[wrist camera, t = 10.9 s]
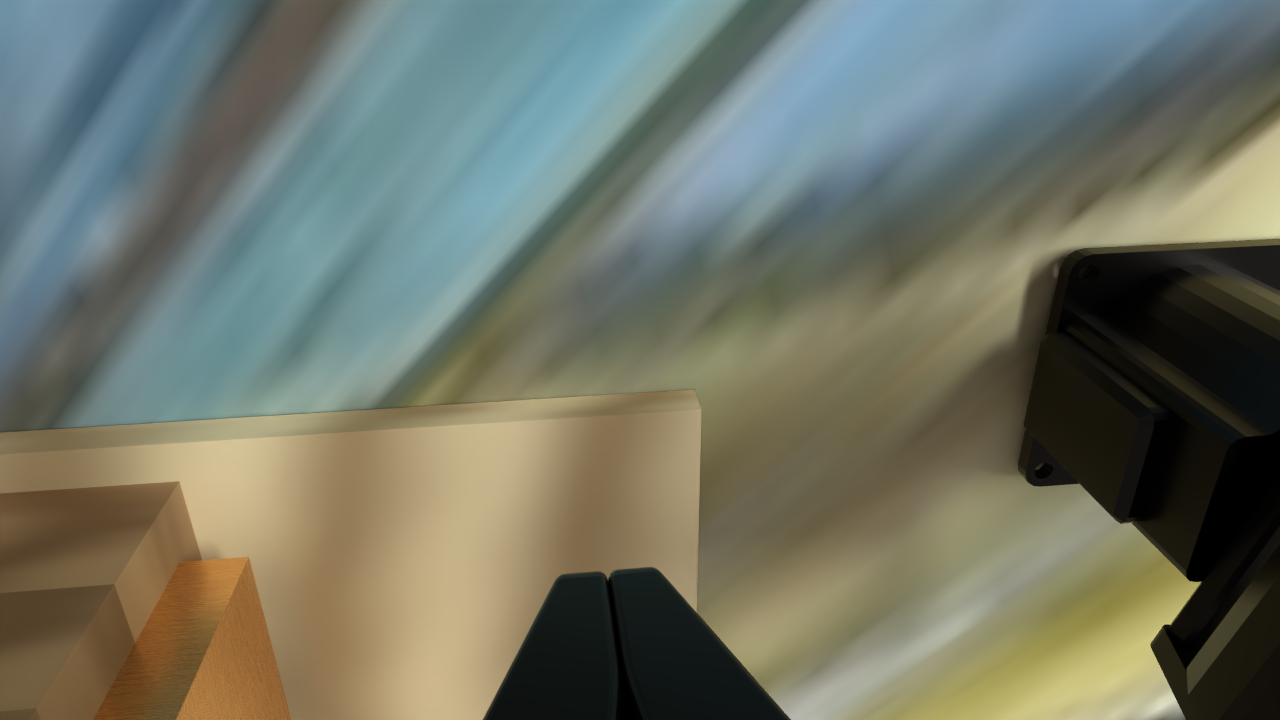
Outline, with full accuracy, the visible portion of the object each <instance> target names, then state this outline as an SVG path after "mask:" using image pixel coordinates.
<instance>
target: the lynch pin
mask: <svg viewBox="0 0 1280 720" xmlns="http://www.w3.org/2000/svg"><path fill="white" fill-rule="evenodd" d="M93 720H291V717H290V713H289V709H288V705H287V701H286V697H285V694H284V690H283V686H282V682H281V678H280V674H279V671H278V667H277V663H276V659H275V655H274V651H273V648H272V644H271V640H270V636H269V632H268V628H267V625H266V621H265V617H264V613H263V609H262V605H261V602H260V598H259V594H258V590H257V586H256V582H255V579H254V575H253V571H252V567H251V563H250V559H249V557H239V558H226V559H213V560H200V561H187V562H179V564H178V566H177V568H176V570H175V572H174V573H173V575H172V577H171V579H170V581H169V582H168V584H167V586H166V588H165V590H164V591H163V593H162V595H161V597H160V599H159V601H158V602H157V604H156V606H155V608H154V610H153V611H152V613H151V615H150V617H149V619H148V621H147V622H146V624H145V626H144V628H143V630H142V631H141V633H140V635H139V637H138V639H137V640H136V642H135V644H134V646H133V648H132V650H131V651H130V653H129V655H128V657H127V659H126V660H125V662H124V664H123V666H122V668H121V670H120V671H119V673H118V675H117V677H116V679H115V680H114V682H113V684H112V686H111V688H110V689H109V691H108V693H107V695H106V697H105V699H104V700H103V702H102V704H101V706H100V708H99V709H98V711H97V713H96V715H95V717H94V719H93Z"/></svg>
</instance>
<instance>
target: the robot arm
mask: <svg viewBox="0 0 1280 720" xmlns="http://www.w3.org/2000/svg"><path fill="white" fill-rule="evenodd" d="M1089 264H1090V269H1089V271H1088V273H1087V274H1086V275H1085V276H1083V277H1081V278H1079V273H1080V271H1081V269H1083V268H1084V267H1085V266H1086V265H1089ZM1024 427H1025V428H1026V430H1025V435H1024V439H1023V444H1022V449H1021V453H1020V458H1019V463H1018V470H1019V472H1020V473H1021V475H1022V476H1023V477H1024V478H1025V479H1026V480H1027V482H1028V483H1030V484H1031V485H1033V486H1053V485H1066V484H1081V486H1082V487H1083V488H1084V489H1085V490H1086V491H1087V492H1088V493H1089V494H1090V495H1091V496H1092V497H1093V498H1094V499H1095V500H1096V501H1097V502H1098V503H1099V504H1100V505H1101V506H1102V507H1103V508H1104V509H1105V510H1106V511H1107V512H1108V513H1109V514H1110V515H1111V516H1112V517H1113V518H1114V519H1115V520H1116V521H1117V522H1119V523H1121V524H1122V523H1132V524H1133V525H1134V526H1135V527H1136V528H1137V529H1138V530H1139V531H1140V532H1141V533H1142V534H1143V535H1144V536H1145V537H1146V538H1147V539H1148V540H1149V541H1150V542H1151V543H1152V544H1153V545H1154V546H1155V547H1156V548H1157V549H1158V550H1159V551H1160V552H1161V553H1162V554H1163V555H1164V556H1165V557H1166V558H1167V559H1168V560H1169V561H1170V562H1171V563H1172V564H1173V565H1174V566H1175V567H1176V568H1177V569H1178V570H1179V571H1180V572H1181V573H1182V574H1183V575H1184V576H1185V577H1186V578H1187V579H1188V580H1189V581H1193V582H1201V581H1202V582H1201V583H1200V585H1199V586H1198V588H1197V589H1196V590H1195V592H1194V593H1193V594H1192V596H1191V597H1190V599H1189V600H1188V601H1187V603H1186V604H1185V606H1184V607H1183V608H1182V610H1181V611H1180V612H1179V614H1178V615H1177V617H1176V618H1175V619H1174V621H1173V622H1172V624H1171V625H1164V626H1163V627H1162V629H1161V630H1160V631H1159V633H1158V634H1157V636H1156V637H1155V638H1154V640H1153V641H1152V642H1151V644H1150V645H1151V648H1152V650H1153V652H1154V655H1155V657H1156V659H1157V661H1158V663H1159V665H1160V667H1161V669H1162V671H1163V673H1164V675H1165V677H1166V679H1167V681H1168V683H1169V685H1170V687H1171V690H1172V692H1173V694H1174V696H1175V698H1176V700H1177V702H1178V704H1179V706H1180V708H1181V710H1182V712H1183V714H1184V716H1185V718H1186V720H1280V239H1268V240H1247V241H1227V242H1206V243H1186V244H1165V245H1145V246H1125V247H1104V248H1084V249H1080V250H1076V251H1074V252H1073V253H1071V254H1070V255H1068V257H1067V258H1066V259H1065V260H1064V261H1063V263H1062V266H1061V268H1060V271H1059V276H1058V281H1057V285H1056V290H1055V295H1054V299H1053V304H1052V309H1051V313H1050V318H1049V323H1048V327H1047V332H1046V336H1045V338H1044V339H1043V341H1042V342H1041V345H1040V350H1039V355H1038V359H1037V364H1036V369H1035V373H1034V378H1033V383H1032V388H1031V392H1030V397H1029V402H1028V406H1027V411H1026V416H1025V420H1024ZM1042 463H1044V465H1043V466H1042V467H1041V468H1040V469H1038V470H1035V469H1036V467H1037V466H1039V465H1040V464H1042ZM483 720H791V719H790V718H789V717H788V716H787V715H786V714H785V713H784V711H783V710H782V709H781V708H780V707H779V706H778V705H777V703H776V702H775V701H774V700H773V699H772V698H771V697H770V696H769V694H768V693H767V692H766V691H765V690H764V689H763V688H762V686H761V685H760V684H759V683H758V682H757V681H756V680H755V678H754V677H753V676H752V675H751V674H750V673H749V672H748V670H747V669H746V668H745V667H744V666H743V665H742V664H741V663H740V661H739V660H738V659H737V658H736V657H735V656H734V655H733V653H732V652H731V651H730V650H729V649H728V648H727V647H726V645H725V644H724V643H723V642H722V641H721V640H720V639H719V637H718V636H717V635H716V634H715V633H714V632H713V631H712V629H711V628H710V627H709V626H708V625H707V624H706V623H705V622H704V620H703V619H702V618H701V617H700V616H699V615H698V614H697V612H696V611H695V610H694V609H693V608H692V607H691V606H690V604H689V603H688V602H687V601H686V600H685V599H684V598H683V596H682V595H681V594H680V593H679V592H678V591H677V590H676V588H675V587H674V586H673V585H672V584H671V583H670V582H669V581H668V579H667V578H666V577H665V576H664V575H663V574H662V573H661V572H660V571H659V570H658V569H656V568H654V567H642V568H630V569H617V570H613V571H612V572H611V573H610V575H609V577H608V579H607V576H606V575H605V573H603V572H601V571H593V572H580V573H568V574H562V575H560V576H558V577H557V578H556V580H555V581H554V583H553V585H552V587H551V589H550V591H549V592H548V594H547V596H546V598H545V600H544V602H543V604H542V606H541V608H540V610H539V612H538V614H537V616H536V618H535V619H534V621H533V623H532V625H531V627H530V629H529V631H528V633H527V635H526V637H525V639H524V641H523V643H522V645H521V646H520V648H519V650H518V652H517V654H516V656H515V658H514V660H513V662H512V664H511V666H510V668H509V670H508V672H507V673H506V675H505V677H504V679H503V681H502V683H501V685H500V687H499V689H498V691H497V693H496V695H495V697H494V699H493V700H492V702H491V704H490V706H489V708H488V710H487V712H486V714H485V716H484V718H483Z"/></svg>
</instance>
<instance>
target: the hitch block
mask: <svg viewBox="0 0 1280 720" xmlns="http://www.w3.org/2000/svg"><path fill="white" fill-rule="evenodd" d="M700 450H701V407H700V404H699V401H698V398H697V395H696V392H695V390H694V389H693V390H677V391H661V392H645V393H629V394H613V395H597V396H580V397H564V398H548V399H532V400H516V401H500V402H484V403H468V404H452V405H436V406H420V407H403V408H387V409H371V410H355V411H339V412H323V413H307V414H291V415H275V416H259V417H243V418H226V419H210V420H194V421H178V422H162V423H146V424H130V425H114V426H98V427H82V428H66V429H49V430H33V431H17V432H1V433H0V720H93V719H94V717H95V715H96V713H97V711H98V709H99V708H100V706H101V704H102V702H103V700H104V699H105V697H106V695H107V693H108V691H109V689H110V688H111V686H112V684H113V682H114V680H115V679H116V677H117V675H118V673H119V671H120V670H121V668H122V666H123V664H124V662H125V660H126V659H127V657H128V655H129V653H130V651H131V650H132V648H133V646H134V644H135V642H136V640H137V639H138V637H139V635H140V633H141V631H142V630H143V628H144V626H145V624H146V622H147V621H148V619H149V617H150V615H151V613H152V611H153V610H154V608H155V606H156V604H157V602H158V601H159V599H160V597H161V595H162V593H163V591H164V590H165V588H166V586H167V584H168V582H169V581H170V579H171V577H172V575H173V573H174V572H175V570H176V568H177V566H178V564H179V562H187V561H200V560H213V559H226V558H239V557H249V559H250V563H251V567H252V571H253V575H254V579H255V582H256V586H257V590H258V594H259V598H260V602H261V605H262V609H263V613H264V617H265V621H266V625H267V628H268V632H269V636H270V640H271V644H272V648H273V651H274V655H275V659H276V663H277V667H278V671H279V674H280V678H281V682H282V686H283V690H284V694H285V697H286V701H287V705H288V709H289V713H290V717H291V720H483V718H484V716H485V714H486V712H487V710H488V708H489V706H490V704H491V702H492V700H493V699H494V697H495V695H496V693H497V691H498V689H499V687H500V685H501V683H502V681H503V679H504V677H505V675H506V673H507V672H508V670H509V668H510V666H511V664H512V662H513V660H514V658H515V656H516V654H517V652H518V650H519V648H520V646H521V645H522V643H523V641H524V639H525V637H526V635H527V633H528V631H529V629H530V627H531V625H532V623H533V621H534V619H535V618H536V616H537V614H538V612H539V610H540V608H541V606H542V604H543V602H544V600H545V598H546V596H547V594H548V592H549V591H550V589H551V587H552V585H553V583H554V581H555V580H556V578H557V577H558V576H560V575H562V574H568V573H580V572H593V571H601V572H603V573H605V575H606V576H607V579H608V577H609V575H610V573H611V572H612V571H613V570H617V569H630V568H642V567H654V568H656V569H658V570H659V571H660V572H661V573H662V574H663V575H664V576H665V577H666V578H667V579H668V581H669V582H670V583H671V584H672V585H673V586H674V587H675V588H676V590H677V591H678V592H679V593H680V594H681V595H682V596H683V598H684V599H685V600H686V601H687V602H688V603H689V604H690V606H691V607H692V608H693V609H694V610H695V611H696V612H697V576H698V534H699V492H700Z"/></svg>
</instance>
